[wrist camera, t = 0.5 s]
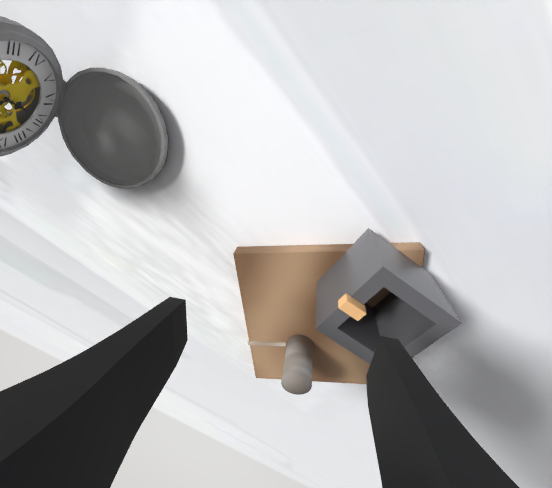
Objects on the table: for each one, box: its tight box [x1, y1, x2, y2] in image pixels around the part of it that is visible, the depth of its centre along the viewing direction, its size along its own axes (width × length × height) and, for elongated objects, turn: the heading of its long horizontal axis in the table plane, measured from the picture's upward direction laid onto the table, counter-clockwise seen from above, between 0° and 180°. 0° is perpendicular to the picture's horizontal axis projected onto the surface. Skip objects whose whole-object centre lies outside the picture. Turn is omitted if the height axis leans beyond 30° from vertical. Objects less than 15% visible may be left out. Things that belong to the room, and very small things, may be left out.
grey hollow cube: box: [316, 228, 462, 364], centre depth 16 cm, size 5×5×5 cm
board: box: [233, 243, 425, 394], centre depth 20 cm, size 12×12×4 cm
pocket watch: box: [0, 16, 168, 188], centre depth 13 cm, size 8×8×10 cm
